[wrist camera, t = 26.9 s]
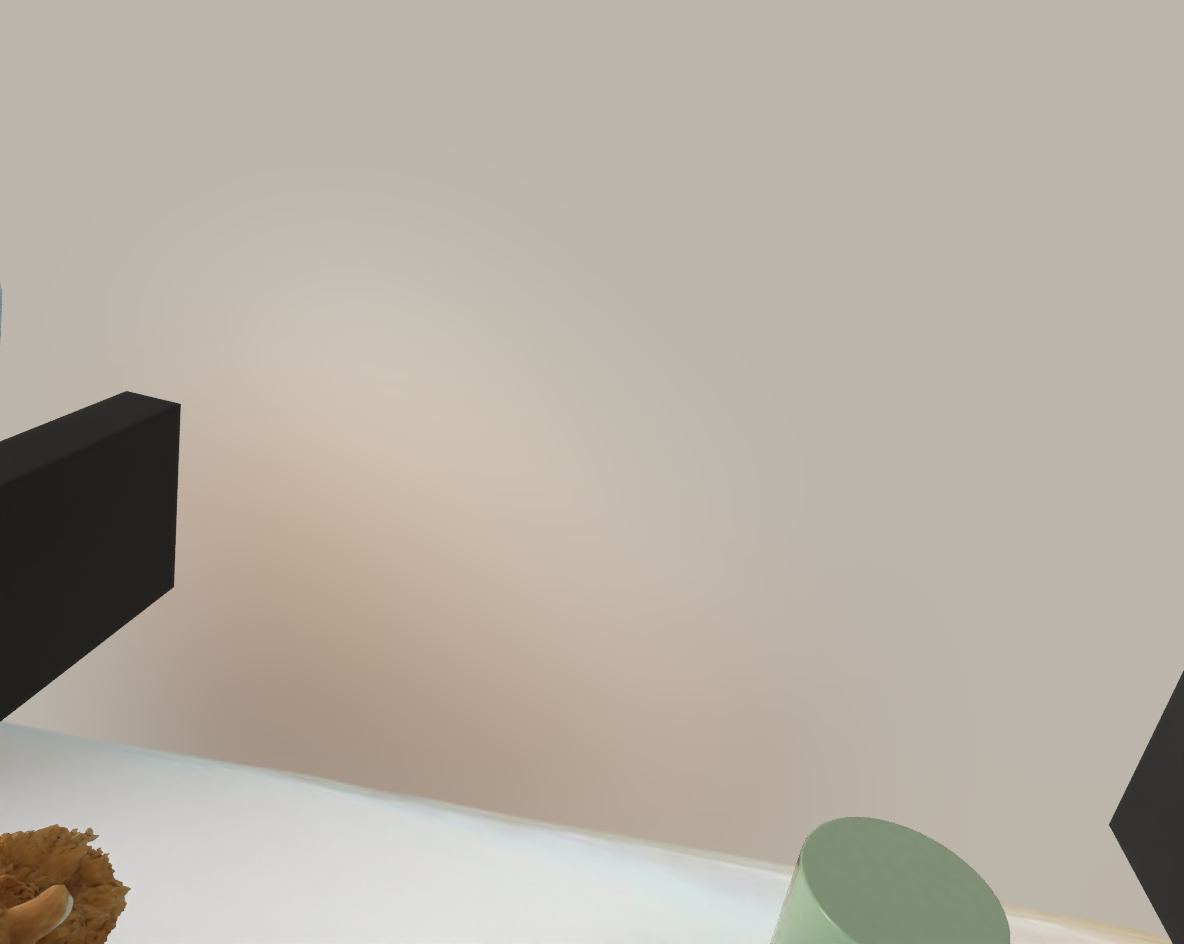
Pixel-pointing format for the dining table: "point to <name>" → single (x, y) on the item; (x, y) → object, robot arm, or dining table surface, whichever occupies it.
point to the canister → (885, 890)
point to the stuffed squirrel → (56, 888)
